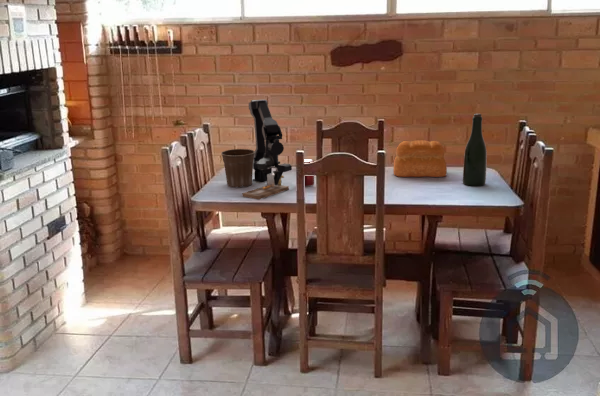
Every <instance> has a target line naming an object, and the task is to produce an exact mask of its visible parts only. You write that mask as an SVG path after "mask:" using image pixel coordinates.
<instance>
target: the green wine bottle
mask: <svg viewBox="0 0 600 396" xmlns="http://www.w3.org/2000/svg"><path fill="white" fill-rule="evenodd" d="M471 120H472V123H471V132H470V135H469V139H468V141H467V143H466V146H465V149H464V155H463V168H462V169H463V170H462V184H463V185H465V186H470V187H481V186H485V185H486V182H487V163H488V162H487V159H488V157H487V155H488V153H487V151H488V150H487V145H486V141H485V140H484V136H483V116H482V113H474V114H473V116H472V119H471Z"/></svg>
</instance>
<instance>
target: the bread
mask: <svg viewBox="0 0 600 396" xmlns="http://www.w3.org/2000/svg"><path fill="white" fill-rule="evenodd" d="M445 152H446V151H445V148H444V146H443V145H442V143H440V141H438V140H431V141H429V140H424V139H423V140H420V139H419V140H418V139H417V140H411V141H407V140H404V141H401V142H400V143H399V144H398V145H397V147H396V150H395V153H396V154H395V155H396V156H395V158H394V160H393V169H392V171H393V175H394V176H397V177H398V178H399V177H400V178H402V177H405V178H411V177H416V178H418V177H419V178H422V177H423V178H424V177H425V178H426V177H427V178H428V177H429V178H431V177H433V178H434V177H435V178H436V177H437V178H439V177H442V178H443V177H446V176H447V171H448V170H447V169H448V167H447V162H446V159H445V154H446V153H445Z"/></svg>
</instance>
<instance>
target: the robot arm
mask: <svg viewBox="0 0 600 396" xmlns="http://www.w3.org/2000/svg"><path fill="white" fill-rule="evenodd" d="M268 104H269V103H268V100H267V99H252V100H250V102H248V110H249V113H250V115H251V117H252V118H253V120H254V121H253V124H254V135H255V150H254V151H255V153H254V160H253V170H254V172H253V175H254V179H253V178H252V182H259V183H260V182H261V183H264V182H266V181H267V174H270V173H274V174H275V185H278V182H279V180H280V178H281V176H282V175H283V173H287V172H291V171H292V170H293V169H292V164H291V163H286V162H285V163H284V162H283V163H281V161H279V156H280V155H281V154H283V152H284V149H285V148H284V145H283V143H281V142H280V140H282V139H283V132H282V129H281V126H280V125H279V124H278V122H277V120H275V119H274V118H273V116H272V114H271V111H270V108H269V105H268ZM273 169H275V170H274V171H272V170H273ZM281 179H282V178H281Z"/></svg>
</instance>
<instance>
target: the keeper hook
mask: <svg viewBox="0 0 600 396" xmlns="http://www.w3.org/2000/svg"><path fill="white" fill-rule="evenodd" d="M284 178H285V176H284V175H283V174H282V176H281V178H280V180H279V182H278V186H281V185H282V179H284Z"/></svg>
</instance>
